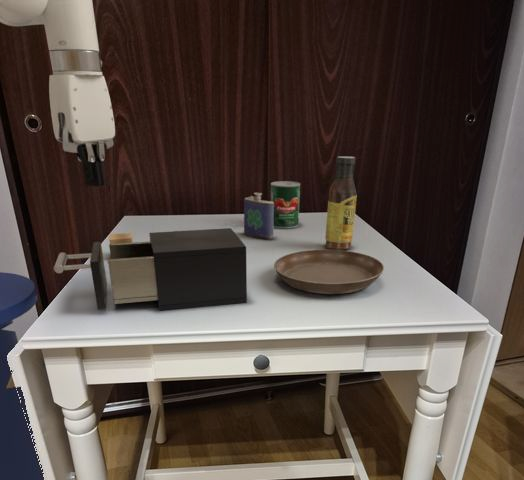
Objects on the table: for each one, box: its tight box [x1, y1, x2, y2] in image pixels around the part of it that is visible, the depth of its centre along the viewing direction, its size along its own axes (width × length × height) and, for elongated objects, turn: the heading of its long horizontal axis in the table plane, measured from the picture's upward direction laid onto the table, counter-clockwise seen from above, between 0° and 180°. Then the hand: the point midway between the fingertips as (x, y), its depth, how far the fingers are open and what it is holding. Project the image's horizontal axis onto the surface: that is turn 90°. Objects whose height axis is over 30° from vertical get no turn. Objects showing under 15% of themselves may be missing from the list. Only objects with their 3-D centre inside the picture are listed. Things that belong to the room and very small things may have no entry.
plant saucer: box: [273, 249, 385, 295], centre depth 92 cm, size 21×21×3 cm
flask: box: [243, 192, 275, 241], centre depth 119 cm, size 9×3×11 cm, turn 49°
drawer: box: [53, 240, 158, 310], centre depth 81 cm, size 19×12×8 cm, turn 105°
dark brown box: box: [149, 227, 248, 312], centre depth 84 cm, size 15×13×10 cm
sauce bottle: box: [325, 155, 358, 251], centre depth 109 cm, size 7×6×20 cm
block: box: [109, 232, 134, 244], centre depth 105 cm, size 5×5×5 cm
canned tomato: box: [270, 180, 301, 229], centre depth 130 cm, size 8×8×11 cm
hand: (95, 185), depth 86 cm, fingers closed
